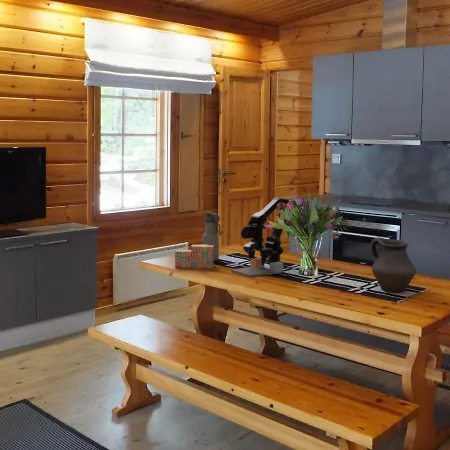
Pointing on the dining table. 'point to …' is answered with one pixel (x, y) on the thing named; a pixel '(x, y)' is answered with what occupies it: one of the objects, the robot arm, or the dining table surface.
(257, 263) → the terracotta brick
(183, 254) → the stack of blocks
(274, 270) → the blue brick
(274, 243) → the robot arm
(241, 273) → the base plate
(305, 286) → the dining table surface
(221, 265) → the dining table surface
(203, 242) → the water bottle
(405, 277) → the pitcher
